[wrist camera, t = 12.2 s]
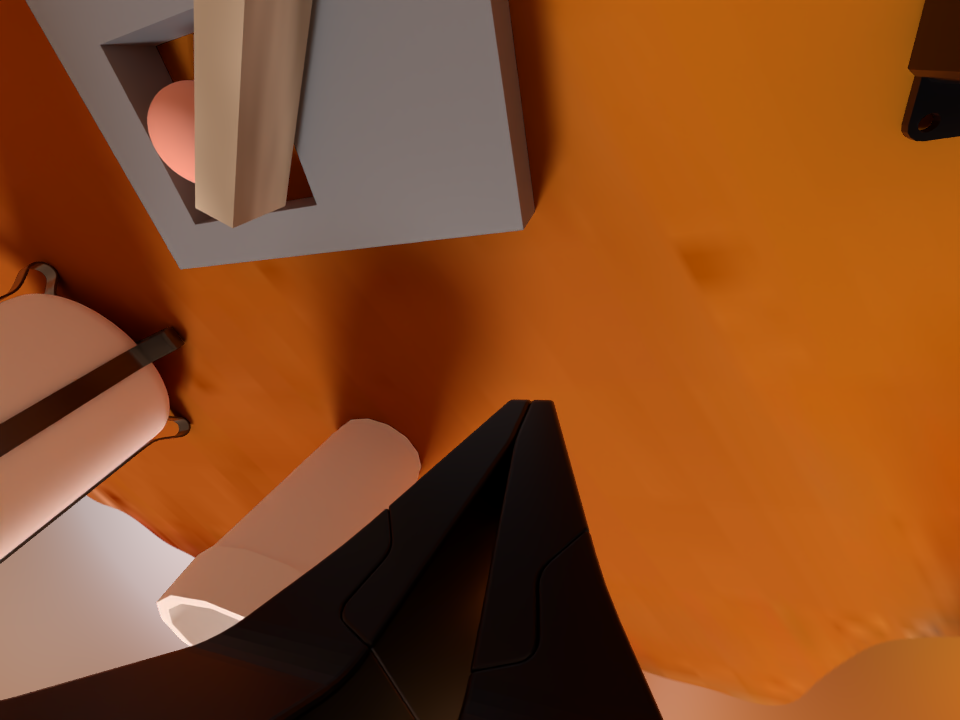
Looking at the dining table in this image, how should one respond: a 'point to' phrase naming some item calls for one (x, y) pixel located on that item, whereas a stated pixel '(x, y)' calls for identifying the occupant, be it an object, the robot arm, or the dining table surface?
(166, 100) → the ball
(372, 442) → the foam cup
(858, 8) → the dining table surface
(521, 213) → the board
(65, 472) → the coffee press
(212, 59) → the lever
